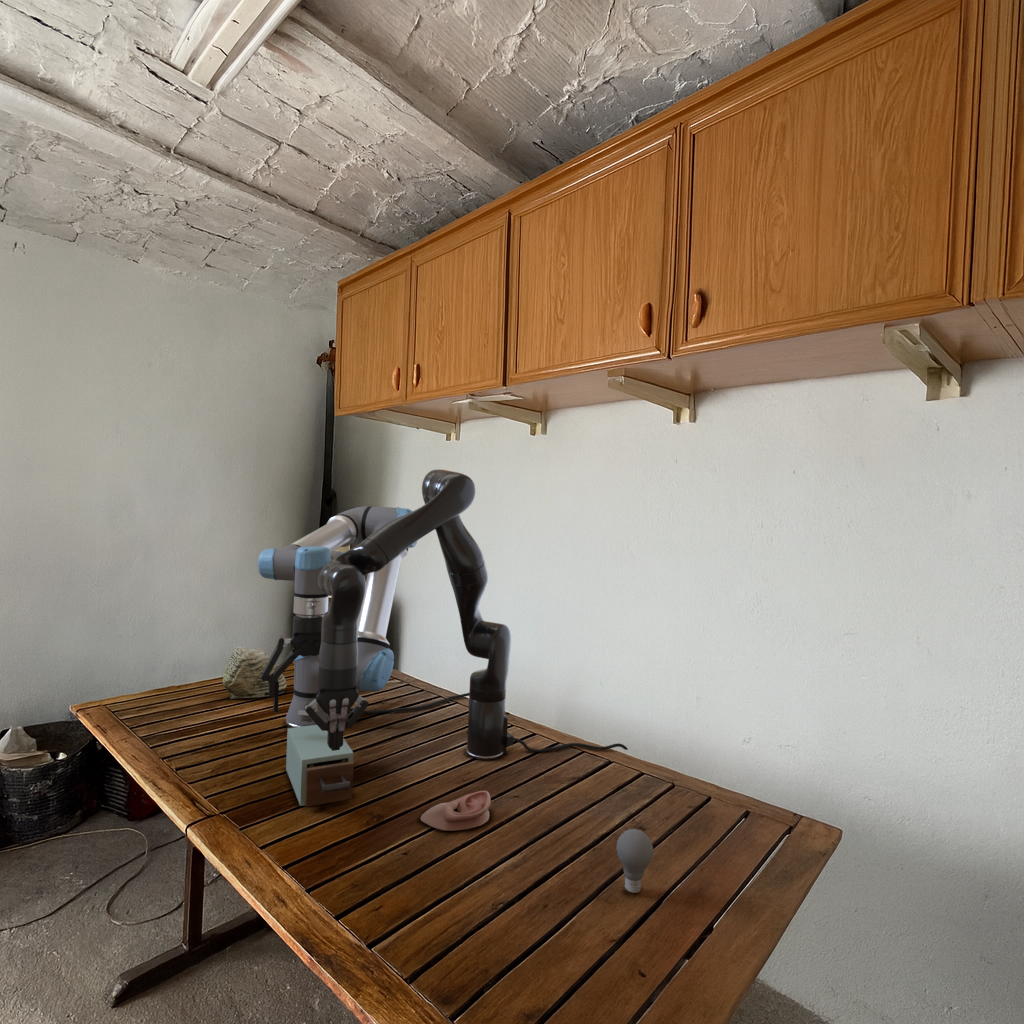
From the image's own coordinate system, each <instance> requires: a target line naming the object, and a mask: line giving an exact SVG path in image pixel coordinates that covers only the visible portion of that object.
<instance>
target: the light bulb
mask: <svg viewBox="0 0 1024 1024" xmlns="http://www.w3.org/2000/svg"><path fill="white" fill-rule="evenodd" d="M615 849H616V854H617V857H618V859H619V861H620V863H621V865H622V867H623V873H624V874H623V875H624V876H625V878H624V888H625V890H627V891H628V892H630V893H634V894H635V893H639V892H640V891H641V889H642V887H641V886H642V879H643V877H644V875H645V871H646V868H647V867H648V866H649V864H650V863H651V861H652V859H653V855H654V847H653V843H652V841H651V838H649V836H648V835H647V834H646V833H645V832H643V831H642V830H641V829H636V828H629V829H627V830H625V831H623V832H622V833H621V834H620V835H619V837H618V839H617V841H616V847H615Z"/></svg>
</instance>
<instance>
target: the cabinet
mask: <svg viewBox="0 0 1024 1024" xmlns="http://www.w3.org/2000/svg"><path fill="white" fill-rule="evenodd" d="M327 737H328V731H322V730H321V729H320V728H319V727H318V725H311V726H303V727H295V728H288V727H287V734H286V757H285V758H286V760H285V761H286V762H285V764H286V765H285V770H286V774H287V776H288V778H289V780H290V782H291V786H292V789H293V791H294V794H295V796H296V799H297V801H298V805H299V806H300V807H302V806H303V807H304V806H305V791H306V768H307V764H313V763H319V762H326V761H332V760H339V759H345V760H346V762H350V761H353V762H354V750H352V748H351V747H350V746H349V743H348V742H347V741H346V738H344V737H343V745H342V747H340V750H335V751H332V750H331V748H329V746H328V744H327Z"/></svg>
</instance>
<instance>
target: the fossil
mask: <svg viewBox="0 0 1024 1024" xmlns="http://www.w3.org/2000/svg"><path fill="white" fill-rule="evenodd" d="M269 659H270V656H269V655H268V654H267V653H266V652H265V650H264V649H263V648H260V647H258V648H251V647H247V646H246V647H245V646H238V647H237V648H236V649H235V650H233V651H232V653H231V656H230V657H229V659H228V660H227V663H226V666H225V668H224V671H223V675H222V676H223V677H222V685H223V687H224V688H225V690H226V691H228V693H229V698H230V699H250V698H264V697H270V696H269V682H268V681H263V680H262V679H261V673H262V671H263V669H264V668H265V666H266V664H267V662H268V660H269ZM276 668H277V665H276V664H275V665H274V667H273V669H272V671H271V672H270V675H271V674H272V673H273V672H274V670H275V669H276ZM277 680H278V682H279V695H281V694H284V693H285V691H286V689H287V687H288V686H287V680H286V678H285V676H284V674H283V673H282V674H281V676H280V677H279V678H278V679H277Z"/></svg>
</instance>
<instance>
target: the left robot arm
mask: <svg viewBox="0 0 1024 1024" xmlns="http://www.w3.org/2000/svg"><path fill="white" fill-rule="evenodd" d="M413 511H414V510H411V509H410V508H405V507H399V506H397V507H392V506H391V507H390V506H389V507H388V506H386V507H385V506H371V505H364V506H357V507H354V508H350V509H348V510H345V511H342V512H339V513H338V514H336V515H334V516H332V517H330V518H329V519H328V521H327V522H326V524H324V525H323V526H321V527H319V528H318V529H316V530H314V531H312V532H310V533H308V534H306V535H304V536H303V537H301V538H299V539H297V540H295V541H294V542H292V543H290V544H288V545H286V546H284V547H282V548H275V547H273V548H265V549H264V550H262V552H261V553H260V554H259V556H258V560H257V570H258V573H259V575H260V576H261V577H262V578H264V579H268V580H274V581H289V582H290V581H291V582H294V593H293V611H292V612H293V614H294V615H293V617H292V634H291V637H284V636H282V635H280V636H278V637H277V641H276V646H275V648H274V650H273V652H272V653H271V655H270V656H269V658H270V659H269V660H268V662H267V664H266V666H265V668H264V669H263V671H262V673H261V679H262V680H263V681H268V682H269V696H268V697H270V698H273V705H272V706H273V708H272V709H273V713H278V712H279V695H280V694H279V682H278V680H277V679H278V678H279V677H280V676H281V674H282V675H283V673H285V671H286V670H287V669H288V668H289V667H290V665H291V664H293V662H294V672H293V695H292V696H293V697H292V699H291V702H290V704H289V708H288V711H287V713H286V715H285V726H286V728H287V729H288V728H295V727H303V726H311V725H317V724H316V723H315V722H314V721H313V720H312V718H311V717H310V716H309V715H308V714H307V713H306V711H305V709H304V705H305V704H310V703H311V702H312V701H313V700H314V699H315V695H316V693H317V691H318V673H319V662H318V659H319V651H320V646H321V629H322V619H323V615H324V614H325V613H326V612H327V611H329V597H330V596H329V595H327V594H325V593H324V592H322V591H321V589H320V588H319V585H318V577H319V574H320V572H321V570H322V569H323V567H324V566H325V565H326V564H327V563H329V562H330V561H331V560H333V559H334V558H336V557H338V556H339V555H341V554H343V553H345V552H346V551H337V550H338V549H340V548H346V547H348V546H351V545H359V544H360V543H362V542H363V541H364V540H365V539H366V538H367V537H369V536H370V535H371V534H372V533H374V532H375V531H376V530H378V529H379V528H380V527H382V526H383V525H385V524H386V523H388V522H390V521H392V520H394V519H396V518H399V517H401V516H404V515H406V514H408V513H410V512H413ZM417 543H418V541H416V542H415V543H413V544H412V545H411V546H409V547H408V548H407V549H406V550H405V551H403V552H402V553H401V554H400V555H399V556H397V557H396V558H395V559H394V560H393V561H392V562H390V563H389V564H388V565H387V566H386V567H384V568H383V569H382V570H380V571H378V572H371V573H368V574H367V575H366V579H365V582H366V590H365V596H364V600H363V604H362V608H361V612H360V615H359V618H358V638H357V644H358V670H357V690H358V691H359V692H360V691H361V692H363V693H366V692H373V693H375V692H379V691H381V690H382V689H384V687H385V686H386V685H387V684H388V682H389V681H390V678H391V675H392V673H393V670H394V666H395V665H394V664H395V661H394V660H395V655H394V652H393V650H392V649H391V648H390V645H391V644H390V641H388V639H387V633H388V627H389V622H390V618H391V612H392V608H393V602H394V597H395V594H396V593H395V592H396V587H397V583H398V577H399V572H400V567H401V563H402V559H404V558H405V557H406V556H408V553H409V549H412V548H415V547H416V546H417ZM289 644H290V645H291V646H292V647H293V648H292V649H291V650H290V652H289V653H288V654H287V656H286V657H285V658H284V659H283V660H282V661H281V663H279V665H278V666H276V669H275V670H274V672H273V673H272V674H271V675H270V672H271V671H272V669H273V667H274V665H276V663H277V662H278V659H279V658H280V656H281V655H282V652H283V650H284V648H286V647H287V646H288V645H289ZM465 697H469V692H466V693H462V694H456V695H451V696H449V697H445V698H443V699H440V700H437V701H433V702H431V703H428V704H427V703H426V704H423V705H419V706H412V707H410V706H409V707H399V708H388V709H377V710H365V711H364V712H363V713H362V715H374V714H375V715H376V714H387V713H398V712H411V711H417V710H418V711H419V710H424V709H428V708H431V707H434V706H437V705H440V704H443V703H446V702H448V701H451V700H454V699H460V698H465ZM317 708H318V712H317V714H318V715H319V716H320V718H321V719H322V720H323V721H324V722H327V716H326V713H325V712H324V711H323V710H322V708H321V707H320V706H319V704H318V705H317ZM352 710H353V709H350V710H349V711H348V712H347V715H349V714H350V712H351V711H352ZM336 720H337V714H336Z"/></svg>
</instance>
